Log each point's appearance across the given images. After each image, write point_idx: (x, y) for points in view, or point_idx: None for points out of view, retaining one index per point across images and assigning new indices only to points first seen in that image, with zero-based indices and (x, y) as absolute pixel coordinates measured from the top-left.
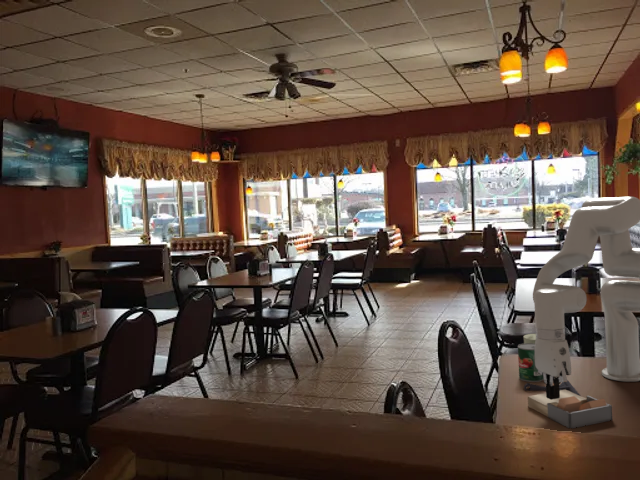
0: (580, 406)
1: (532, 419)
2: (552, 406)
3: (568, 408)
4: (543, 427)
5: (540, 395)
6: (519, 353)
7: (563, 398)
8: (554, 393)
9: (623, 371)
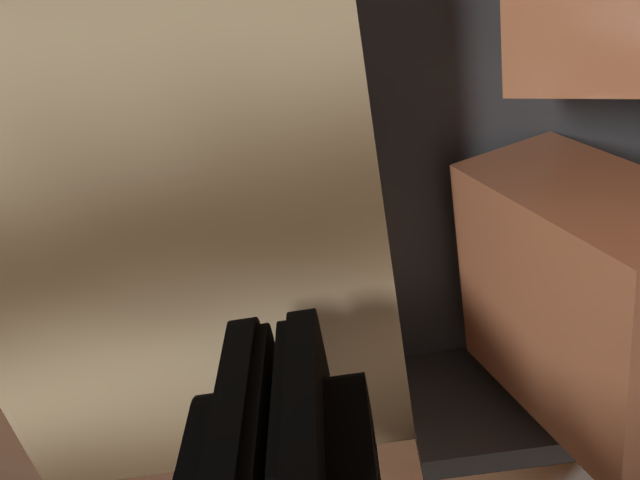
0: (570, 92)
1: (393, 472)
2: (517, 462)
3: None
4: (572, 466)
5: (26, 370)
6: None
7: (626, 449)
8: (378, 464)
9: None
